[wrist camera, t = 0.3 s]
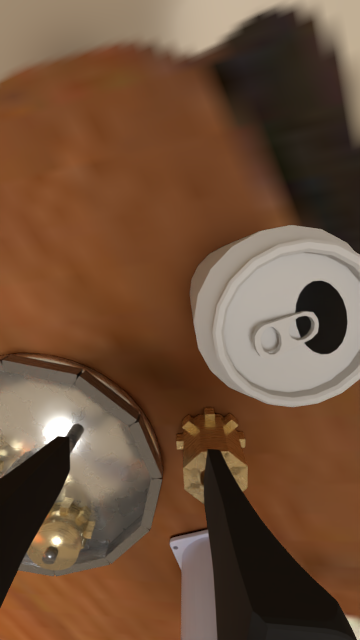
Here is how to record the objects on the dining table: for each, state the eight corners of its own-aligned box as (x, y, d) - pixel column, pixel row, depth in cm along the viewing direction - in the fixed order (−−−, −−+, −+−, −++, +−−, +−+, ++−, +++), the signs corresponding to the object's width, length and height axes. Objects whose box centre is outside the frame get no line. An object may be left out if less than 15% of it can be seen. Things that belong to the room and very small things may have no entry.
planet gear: (256, 435, 23) (273, 476, 19) (210, 474, 24) (216, 522, 20) (208, 395, 22) (214, 428, 18) (163, 438, 23) (158, 479, 19)
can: (288, 318, 20) (428, 393, 9) (205, 345, 21) (230, 447, 9) (266, 230, 19) (400, 179, 7) (176, 263, 20) (164, 265, 8)
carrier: (191, 523, 26) (193, 574, 22) (-2, 568, 28) (-36, 622, 24) (108, 319, 21) (88, 334, 16) (-122, 394, 23) (-192, 424, 19)
